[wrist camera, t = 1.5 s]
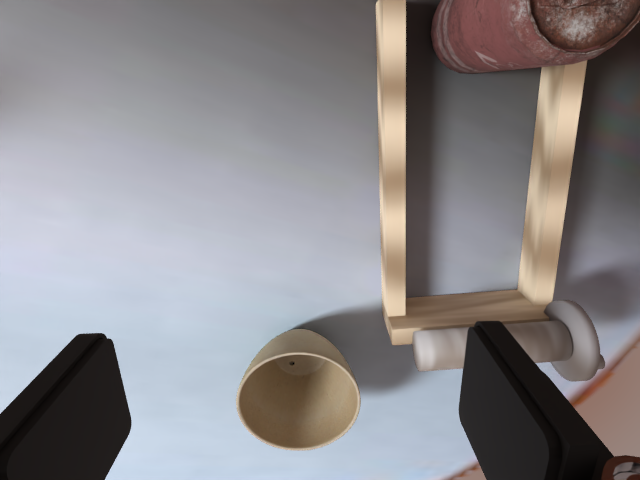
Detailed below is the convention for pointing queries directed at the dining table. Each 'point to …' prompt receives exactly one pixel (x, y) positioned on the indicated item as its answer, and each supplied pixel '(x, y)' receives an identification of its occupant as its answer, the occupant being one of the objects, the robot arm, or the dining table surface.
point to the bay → (538, 238)
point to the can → (527, 32)
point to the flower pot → (298, 392)
